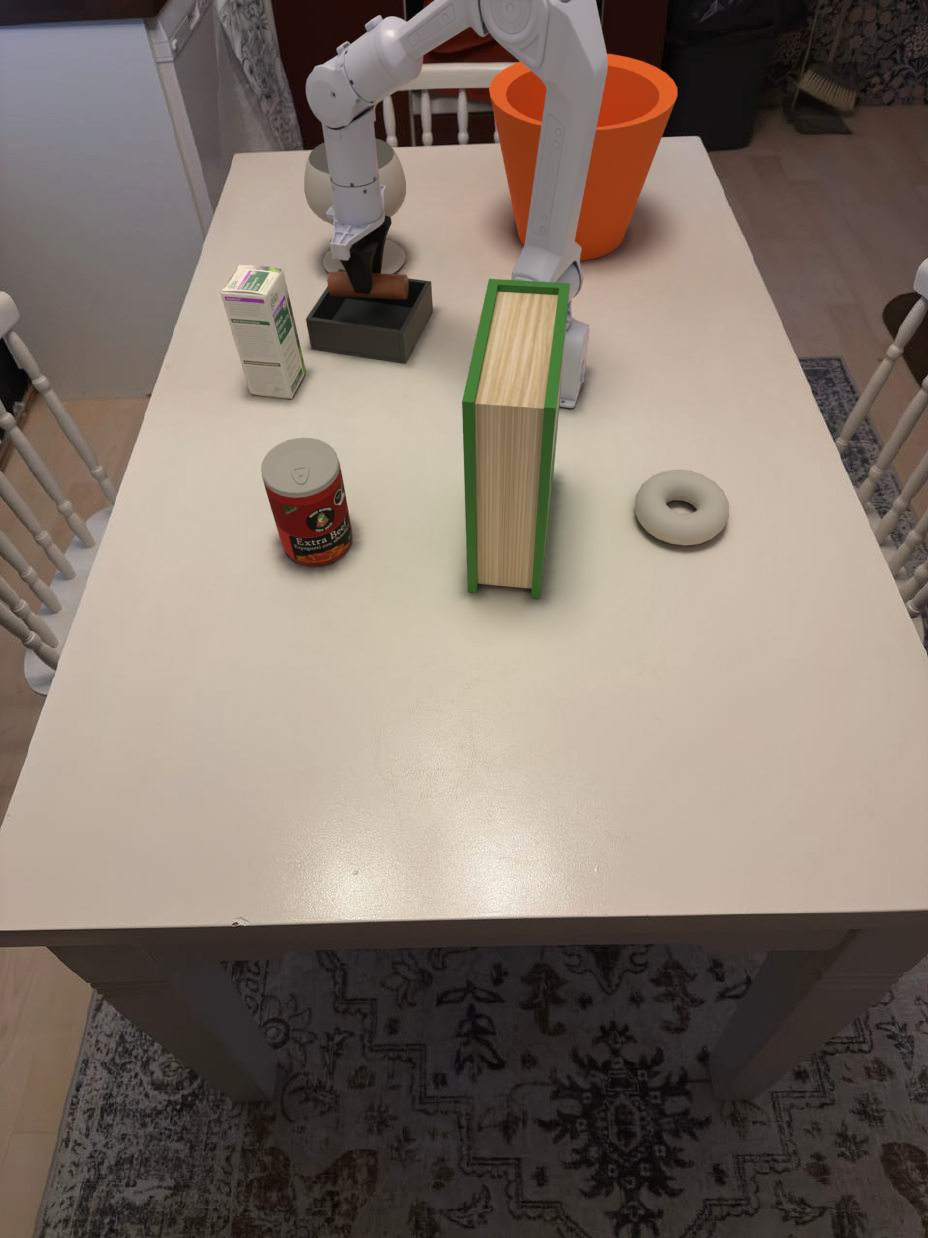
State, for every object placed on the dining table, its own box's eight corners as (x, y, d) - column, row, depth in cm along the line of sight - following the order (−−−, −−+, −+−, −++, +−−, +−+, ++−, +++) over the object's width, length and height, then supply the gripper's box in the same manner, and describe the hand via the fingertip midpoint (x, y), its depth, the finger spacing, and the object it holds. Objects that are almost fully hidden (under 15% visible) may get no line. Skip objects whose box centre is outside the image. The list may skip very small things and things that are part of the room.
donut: (717, 562, 87) (732, 495, 92) (725, 540, 84) (739, 473, 90) (623, 540, 89) (642, 476, 95) (627, 518, 86) (647, 454, 92)
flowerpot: (587, 177, 137) (600, 38, 121) (688, 244, 124) (717, 98, 108) (458, 221, 130) (454, 78, 114) (551, 296, 117) (561, 148, 101)
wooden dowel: (407, 303, 108) (409, 281, 109) (402, 292, 105) (405, 269, 106) (333, 300, 110) (335, 278, 110) (326, 289, 107) (329, 266, 107)
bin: (433, 311, 115) (431, 280, 112) (405, 363, 108) (403, 333, 105) (343, 298, 118) (339, 268, 114) (311, 349, 111) (305, 318, 107)
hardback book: (540, 598, 84) (555, 408, 65) (467, 591, 85) (462, 401, 66) (553, 477, 95) (569, 283, 76) (488, 472, 96) (488, 278, 76)
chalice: (430, 252, 125) (424, 146, 113) (375, 297, 118) (362, 189, 106) (355, 227, 129) (341, 123, 117) (298, 270, 122) (277, 164, 110)
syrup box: (292, 400, 104) (268, 294, 93) (248, 395, 105) (218, 289, 93) (307, 372, 108) (285, 266, 96) (263, 367, 108) (237, 262, 97)
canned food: (297, 578, 87) (276, 502, 78) (271, 529, 91) (248, 452, 82) (365, 552, 89) (352, 475, 80) (336, 504, 93) (321, 427, 84)
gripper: (344, 144, 102) (357, 250, 112) (298, 201, 93) (318, 310, 104) (398, 150, 100) (407, 257, 111) (357, 209, 92) (371, 318, 103)
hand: (367, 283), depth 108 cm, fingers closed on wooden dowel, 3 cm apart
